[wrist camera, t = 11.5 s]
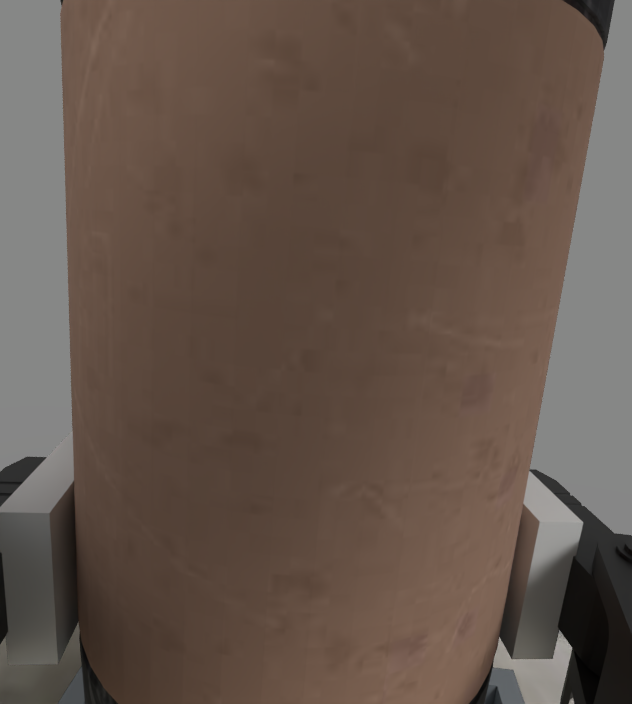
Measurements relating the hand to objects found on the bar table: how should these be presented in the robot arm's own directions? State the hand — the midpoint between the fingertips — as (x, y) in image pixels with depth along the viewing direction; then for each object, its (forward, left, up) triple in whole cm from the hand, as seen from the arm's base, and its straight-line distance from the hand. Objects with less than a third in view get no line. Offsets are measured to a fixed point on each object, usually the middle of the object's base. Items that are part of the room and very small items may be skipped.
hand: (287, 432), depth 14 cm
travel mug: (-4, +3, -10) cm, 11 cm away
